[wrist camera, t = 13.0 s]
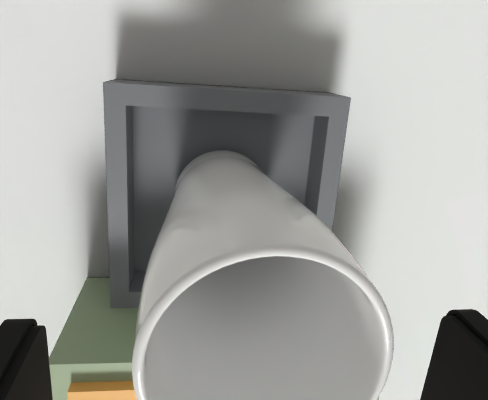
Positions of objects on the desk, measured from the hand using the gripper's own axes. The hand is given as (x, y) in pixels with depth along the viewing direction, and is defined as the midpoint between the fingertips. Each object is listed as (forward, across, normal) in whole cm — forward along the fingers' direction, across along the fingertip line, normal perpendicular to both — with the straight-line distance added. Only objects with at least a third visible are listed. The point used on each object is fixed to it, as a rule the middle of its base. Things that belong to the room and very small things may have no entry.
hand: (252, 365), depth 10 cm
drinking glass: (+16, -1, +1) cm, 16 cm away
